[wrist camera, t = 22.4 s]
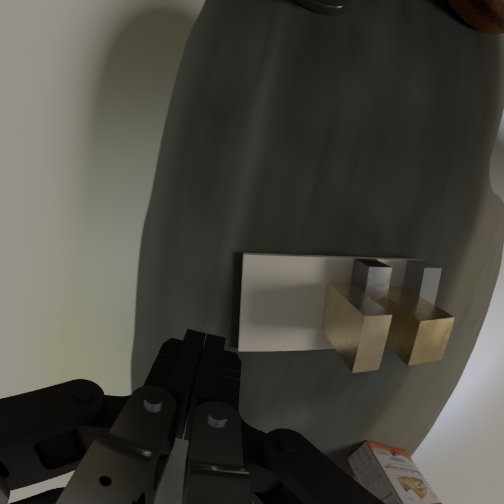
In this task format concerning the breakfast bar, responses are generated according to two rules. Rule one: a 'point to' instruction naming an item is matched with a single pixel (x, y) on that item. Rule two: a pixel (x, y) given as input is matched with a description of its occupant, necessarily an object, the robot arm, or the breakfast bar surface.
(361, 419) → the breakfast bar surface
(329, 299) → the sliding jaw
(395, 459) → the cracker box
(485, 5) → the brown vase
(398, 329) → the brass block
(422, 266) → the vise
